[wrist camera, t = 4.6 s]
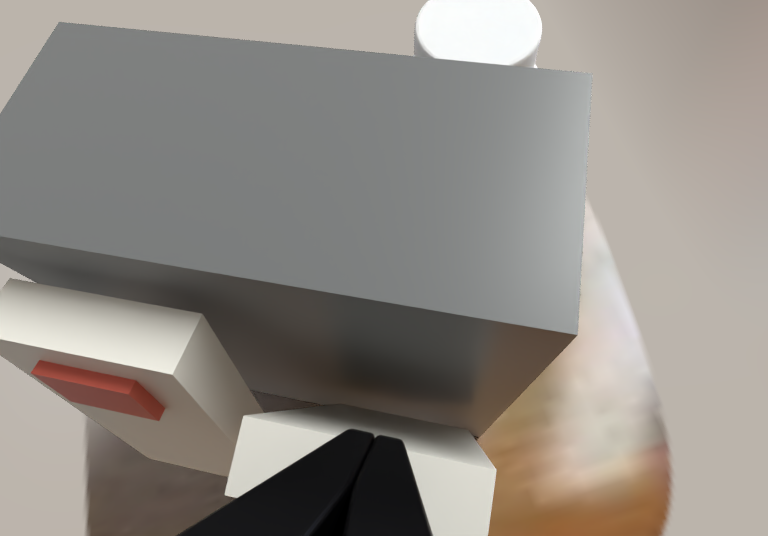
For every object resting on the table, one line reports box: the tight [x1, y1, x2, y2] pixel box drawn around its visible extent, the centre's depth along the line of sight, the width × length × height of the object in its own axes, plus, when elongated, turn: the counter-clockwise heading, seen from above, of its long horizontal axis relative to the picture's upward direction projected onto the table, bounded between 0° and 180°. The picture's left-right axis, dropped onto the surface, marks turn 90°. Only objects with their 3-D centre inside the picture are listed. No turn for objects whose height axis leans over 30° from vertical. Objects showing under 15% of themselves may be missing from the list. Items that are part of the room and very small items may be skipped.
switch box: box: [0, 22, 592, 437], centre depth 15 cm, size 5×11×14 cm, turn 78°
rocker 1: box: [0, 278, 264, 477], centre depth 12 cm, size 2×4×8 cm, turn 79°
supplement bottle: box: [413, 0, 542, 68], centre depth 20 cm, size 5×5×10 cm
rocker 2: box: [224, 403, 496, 536], centre depth 11 cm, size 2×4×8 cm, turn 78°
